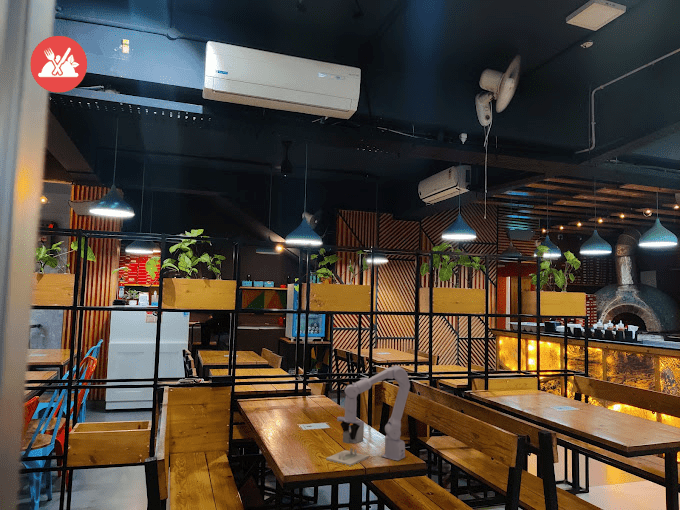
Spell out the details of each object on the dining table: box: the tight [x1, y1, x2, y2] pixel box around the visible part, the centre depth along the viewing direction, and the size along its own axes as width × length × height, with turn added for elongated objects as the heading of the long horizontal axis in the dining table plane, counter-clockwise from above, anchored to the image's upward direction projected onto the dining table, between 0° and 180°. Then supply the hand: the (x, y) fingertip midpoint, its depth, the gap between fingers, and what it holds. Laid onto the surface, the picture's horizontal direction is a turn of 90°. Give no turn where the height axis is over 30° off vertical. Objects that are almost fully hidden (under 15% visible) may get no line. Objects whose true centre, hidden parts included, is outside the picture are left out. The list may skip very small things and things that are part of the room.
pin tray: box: [325, 447, 370, 467], centre depth 242 cm, size 14×16×4 cm
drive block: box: [342, 429, 357, 445], centre depth 246 cm, size 4×7×5 cm, turn 144°
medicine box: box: [349, 424, 365, 444], centre depth 272 cm, size 8×4×9 cm, turn 141°
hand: (349, 438), depth 245 cm, fingers closed on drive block, 3 cm apart
